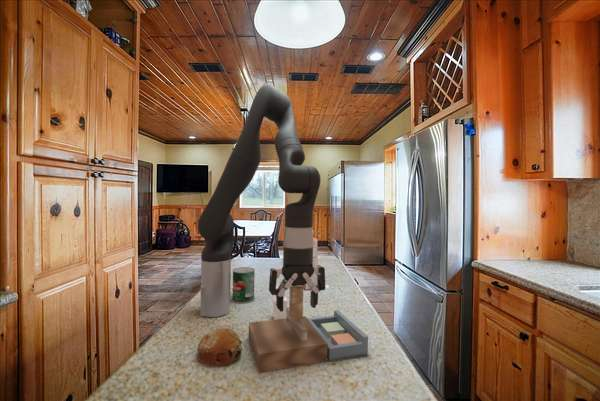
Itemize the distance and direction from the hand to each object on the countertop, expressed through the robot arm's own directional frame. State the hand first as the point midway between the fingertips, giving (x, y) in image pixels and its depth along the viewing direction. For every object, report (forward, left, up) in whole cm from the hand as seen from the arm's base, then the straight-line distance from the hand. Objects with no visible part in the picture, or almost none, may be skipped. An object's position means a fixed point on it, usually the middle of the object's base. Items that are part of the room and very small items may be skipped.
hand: (297, 308), depth 73 cm
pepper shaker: (0, +18, -10) cm, 21 cm away
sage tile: (+11, +3, -8) cm, 14 cm away
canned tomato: (-9, +37, -10) cm, 39 cm away
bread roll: (-18, +1, -10) cm, 21 cm away
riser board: (-3, 0, -10) cm, 10 cm away
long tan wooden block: (0, +1, -6) cm, 6 cm away
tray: (+10, 0, -10) cm, 14 cm away
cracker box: (+18, +48, -10) cm, 52 cm away
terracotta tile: (+12, -4, -8) cm, 14 cm away
